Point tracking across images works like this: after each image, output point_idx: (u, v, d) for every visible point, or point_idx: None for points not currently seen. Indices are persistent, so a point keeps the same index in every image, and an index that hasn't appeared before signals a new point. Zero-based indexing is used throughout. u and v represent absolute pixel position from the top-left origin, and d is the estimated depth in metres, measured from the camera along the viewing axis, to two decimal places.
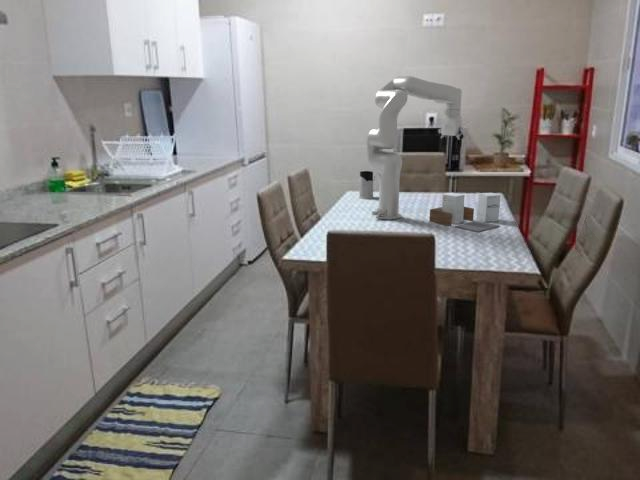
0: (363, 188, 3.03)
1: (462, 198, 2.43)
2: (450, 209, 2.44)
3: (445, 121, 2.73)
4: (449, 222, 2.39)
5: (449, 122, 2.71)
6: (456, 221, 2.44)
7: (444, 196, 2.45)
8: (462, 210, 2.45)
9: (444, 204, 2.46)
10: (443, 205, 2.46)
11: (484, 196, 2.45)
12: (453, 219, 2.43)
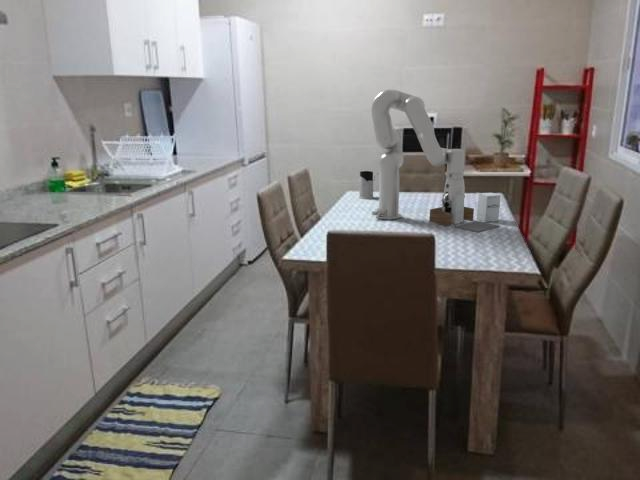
0: (363, 188, 3.03)
1: (462, 198, 2.43)
2: None
3: (455, 186, 2.40)
4: (449, 222, 2.39)
5: (459, 186, 2.42)
6: (456, 221, 2.44)
7: None
8: (462, 210, 2.45)
9: None
10: (443, 205, 2.46)
11: (484, 196, 2.45)
12: (453, 219, 2.43)
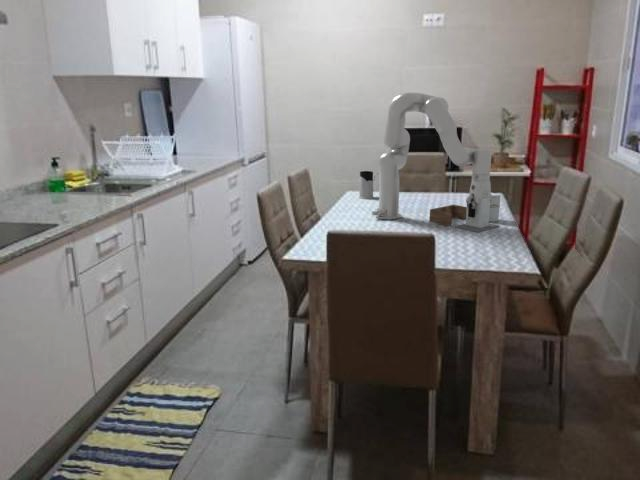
0: (363, 188, 3.03)
1: (488, 201, 2.32)
2: (475, 213, 2.33)
3: (482, 188, 2.29)
4: (449, 222, 2.39)
5: (485, 188, 2.31)
6: (481, 225, 2.33)
7: None
8: (488, 214, 2.34)
9: (468, 208, 2.35)
10: (468, 208, 2.36)
11: None
12: (478, 223, 2.33)
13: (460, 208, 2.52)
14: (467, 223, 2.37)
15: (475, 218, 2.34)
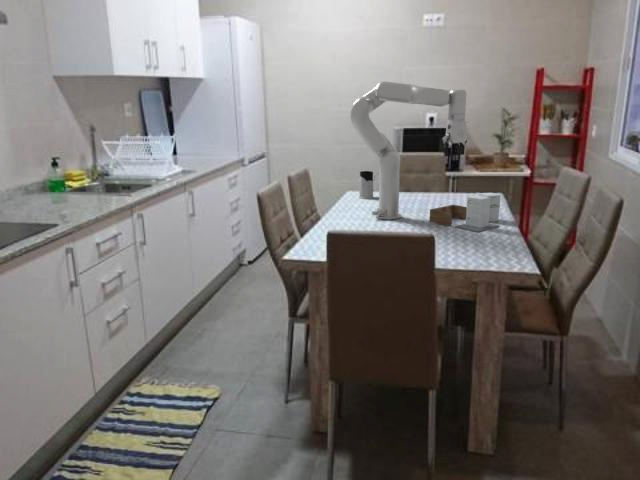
0: (363, 188, 3.03)
1: (488, 201, 2.32)
2: (475, 213, 2.33)
3: (457, 127, 2.39)
4: (449, 222, 2.39)
5: (461, 128, 2.40)
6: (481, 225, 2.33)
7: (469, 199, 2.35)
8: (488, 214, 2.34)
9: (468, 208, 2.35)
10: (468, 208, 2.36)
11: (484, 196, 2.45)
12: (478, 223, 2.33)
13: (460, 208, 2.52)
14: (467, 223, 2.37)
15: (475, 218, 2.34)
